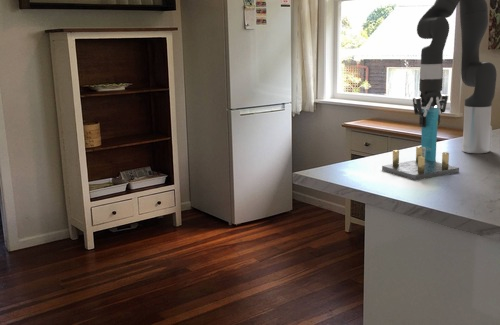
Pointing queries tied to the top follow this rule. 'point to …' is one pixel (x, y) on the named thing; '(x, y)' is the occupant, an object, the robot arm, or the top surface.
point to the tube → (430, 134)
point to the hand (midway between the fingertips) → (429, 125)
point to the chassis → (420, 166)
